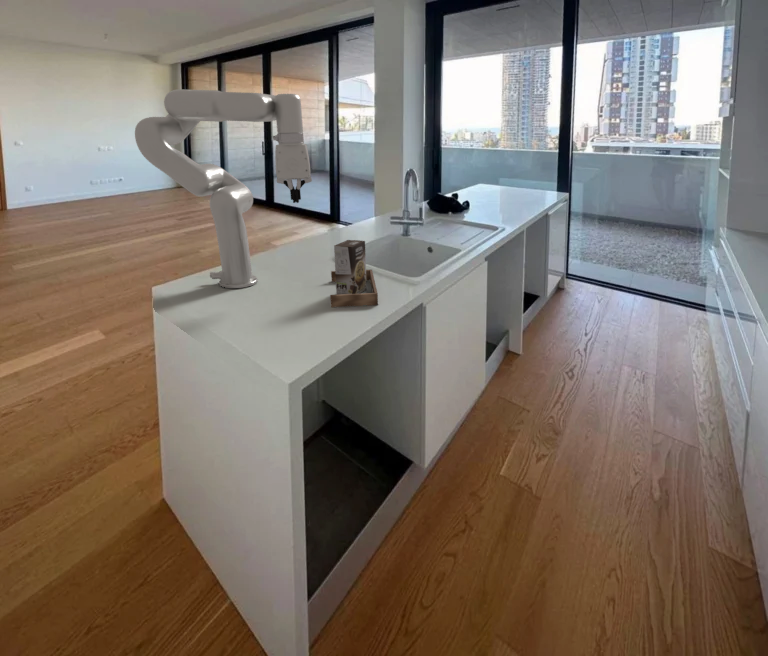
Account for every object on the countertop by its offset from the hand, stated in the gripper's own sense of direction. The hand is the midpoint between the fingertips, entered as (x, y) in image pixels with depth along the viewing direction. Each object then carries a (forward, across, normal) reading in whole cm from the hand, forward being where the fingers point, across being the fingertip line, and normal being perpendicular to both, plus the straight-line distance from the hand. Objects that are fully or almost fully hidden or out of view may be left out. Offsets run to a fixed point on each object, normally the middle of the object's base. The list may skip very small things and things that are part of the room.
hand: (296, 202), depth 156 cm
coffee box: (+27, +16, -11) cm, 33 cm away
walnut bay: (+27, +16, -10) cm, 33 cm away
